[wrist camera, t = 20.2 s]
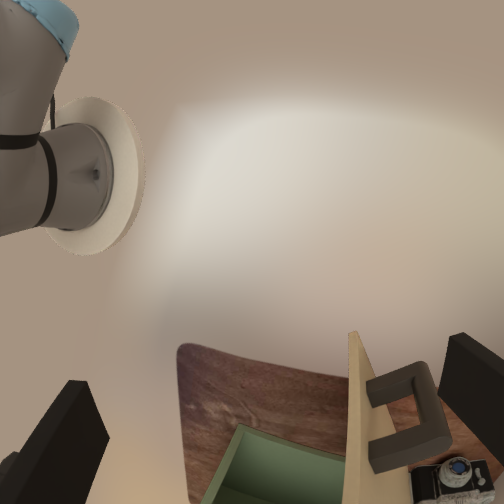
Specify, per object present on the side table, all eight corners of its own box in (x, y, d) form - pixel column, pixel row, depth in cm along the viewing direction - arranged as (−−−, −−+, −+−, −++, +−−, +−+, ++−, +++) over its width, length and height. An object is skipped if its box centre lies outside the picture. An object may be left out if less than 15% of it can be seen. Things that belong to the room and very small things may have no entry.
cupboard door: (407, 309, 31) (471, 499, 9) (444, 452, 34) (464, 586, 11) (348, 333, 34) (337, 535, 11) (401, 467, 36) (402, 603, 13)
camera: (497, 445, 31) (513, 489, 22) (480, 471, 33) (491, 514, 24) (418, 453, 35) (424, 505, 26) (404, 478, 37) (407, 527, 27)
